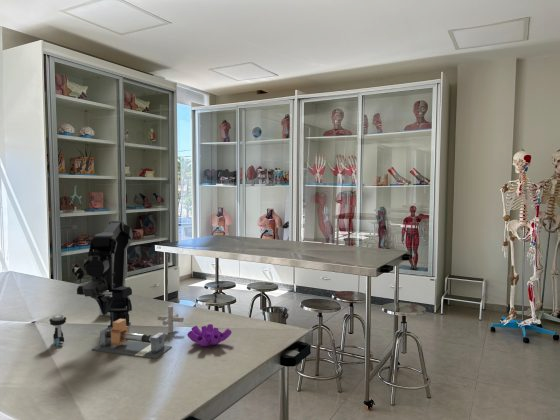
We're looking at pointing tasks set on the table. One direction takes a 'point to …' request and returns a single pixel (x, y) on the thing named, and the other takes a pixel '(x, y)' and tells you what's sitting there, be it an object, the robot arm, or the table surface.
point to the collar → (118, 332)
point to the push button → (58, 329)
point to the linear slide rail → (134, 339)
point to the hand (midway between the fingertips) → (104, 314)
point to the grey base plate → (132, 349)
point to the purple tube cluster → (208, 335)
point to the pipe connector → (170, 319)
